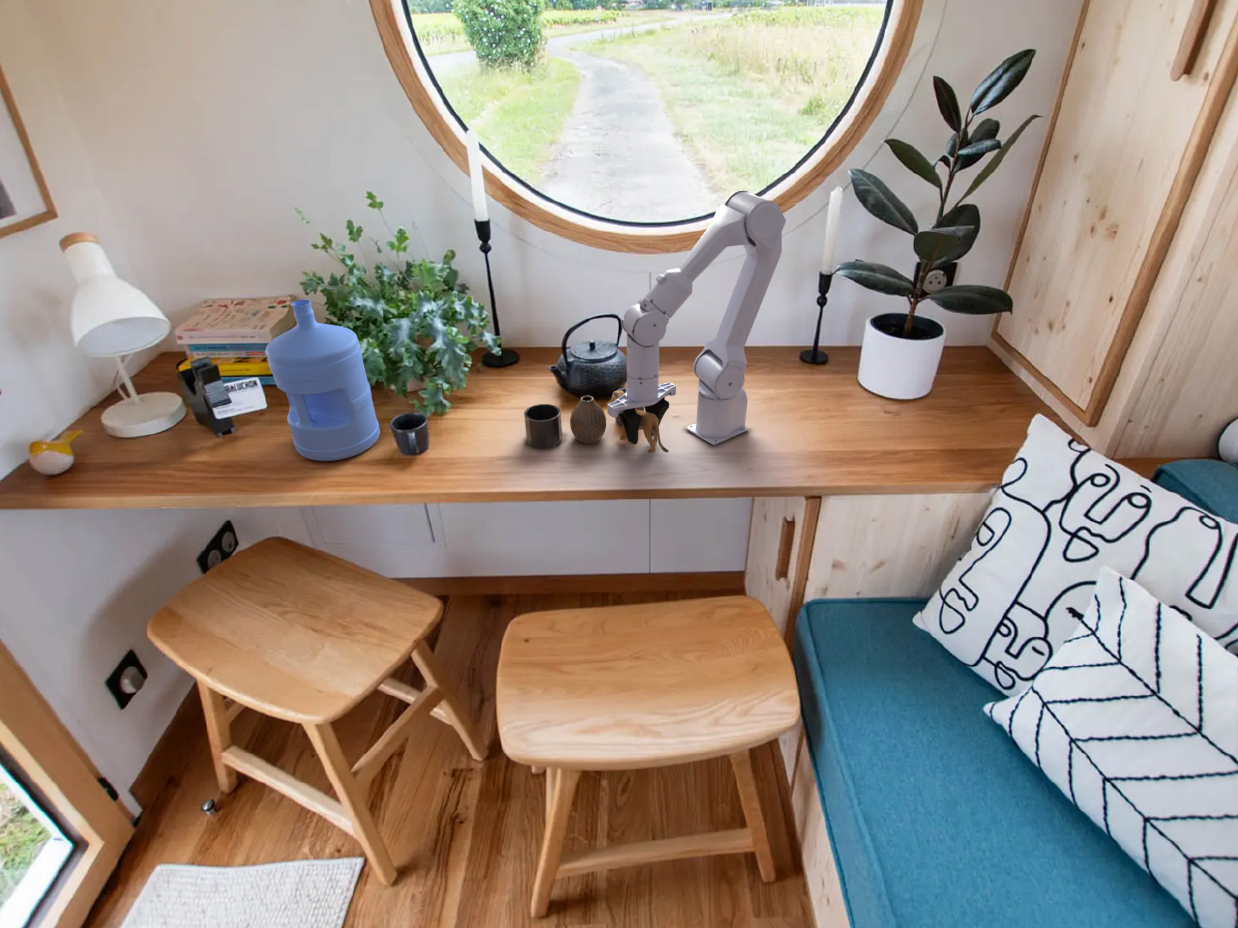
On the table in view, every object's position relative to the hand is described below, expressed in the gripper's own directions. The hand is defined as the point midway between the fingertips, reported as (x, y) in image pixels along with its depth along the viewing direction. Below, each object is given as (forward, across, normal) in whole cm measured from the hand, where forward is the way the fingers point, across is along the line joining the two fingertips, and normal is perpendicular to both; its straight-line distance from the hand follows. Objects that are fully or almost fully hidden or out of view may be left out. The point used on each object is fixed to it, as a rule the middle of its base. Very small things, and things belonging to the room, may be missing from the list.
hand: (642, 438), depth 129 cm
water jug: (+2, +46, -38) cm, 59 cm away
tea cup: (+2, +14, -14) cm, 19 cm away
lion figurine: (+1, +1, -1) cm, 2 cm away
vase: (+2, +6, -8) cm, 11 cm away
